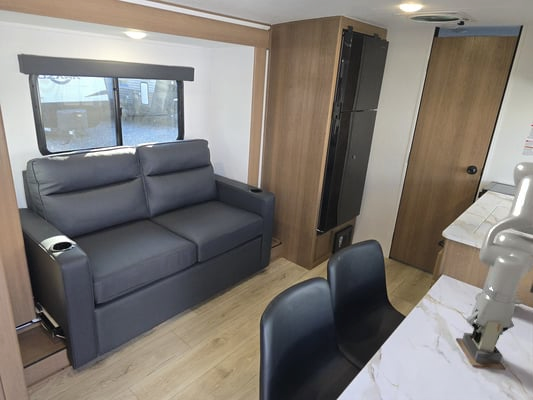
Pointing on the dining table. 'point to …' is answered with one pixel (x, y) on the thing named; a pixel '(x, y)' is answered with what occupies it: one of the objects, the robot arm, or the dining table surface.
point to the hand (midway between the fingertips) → (483, 340)
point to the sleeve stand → (480, 354)
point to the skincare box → (489, 336)
